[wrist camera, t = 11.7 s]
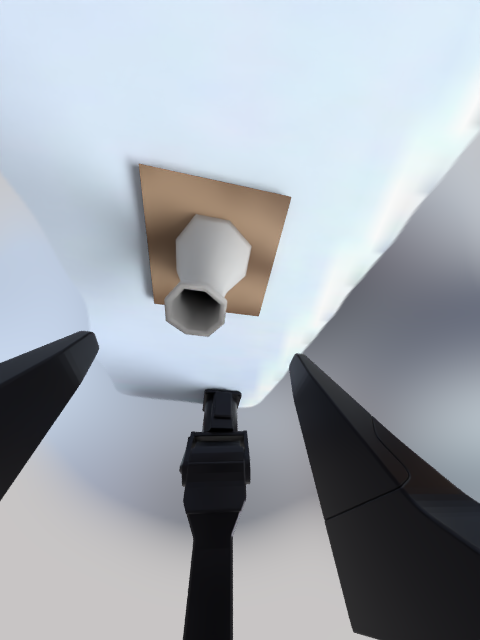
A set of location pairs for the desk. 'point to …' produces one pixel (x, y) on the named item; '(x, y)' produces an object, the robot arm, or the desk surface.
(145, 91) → the desk surface
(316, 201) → the desk surface
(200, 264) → the flask
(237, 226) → the flat brown panel
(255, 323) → the desk surface
